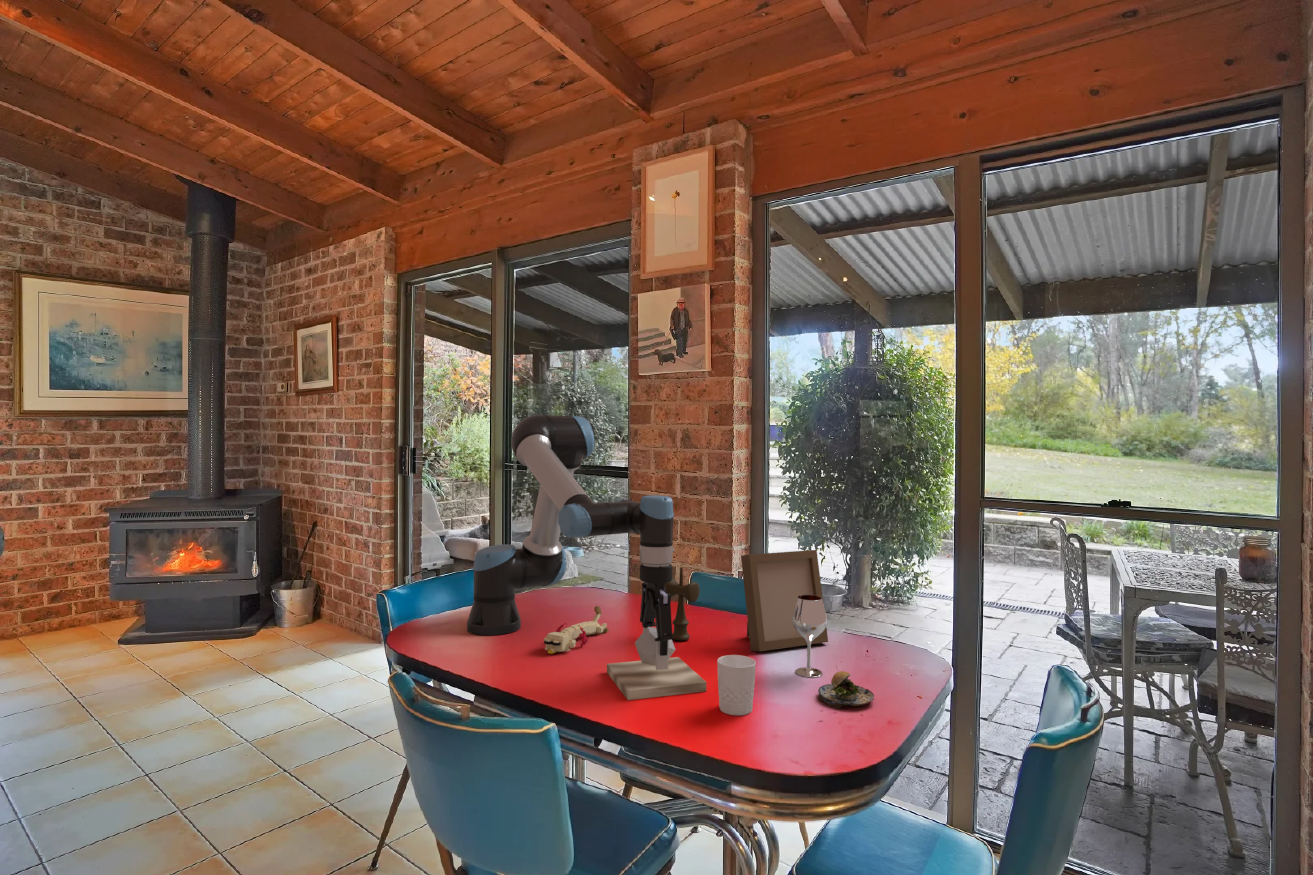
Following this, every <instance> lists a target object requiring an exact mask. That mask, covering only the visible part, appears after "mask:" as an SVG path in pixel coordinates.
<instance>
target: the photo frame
mask: <svg viewBox="0 0 1313 875" xmlns="http://www.w3.org/2000/svg"><path fill="white" fill-rule="evenodd" d="M818 558H819V557H818V550H817V549H809V550H796V551H795V550H793V551H781V552H780V551H779V552H768V553H767V552H765V553H754V554H753V553H752V554H743V555H740V559H741V560H740V561H741V570H742V578H743V579H742V580H743V588H744V598H745V607H746V608H745V609H746V617H747V618H746V619H747V621H746V622H747V624H746V638H749V646H750V651H751V652H752V651H754V652H765V651H773V650H780V649H786V648H793V647H795V648H796V647H800V646H807V642H806V640H805V639H804V638H803V637H802V636H801V635H800V634H799V633H798V632H797V631H796V630H795V628H794V626H793V624H792V615H793V611H794V607H795V603H796V600H797V597H798V596H800V595H815V596H819V597H821V598H822V600H823V601H824V598H823V596H824V595H823V589H822V582H821V574H820V573H821V572H820V566H819V559H818ZM827 629H828V628H827V627H826V628H825V630H824V631H823V632H822V633H821V634H820V635H819V636H817V637H816V638H815V639H814V640H813V641H812V642H811V645H815V644H816V645H817V644H822V643H829V637H828V630H827Z"/></svg>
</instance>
